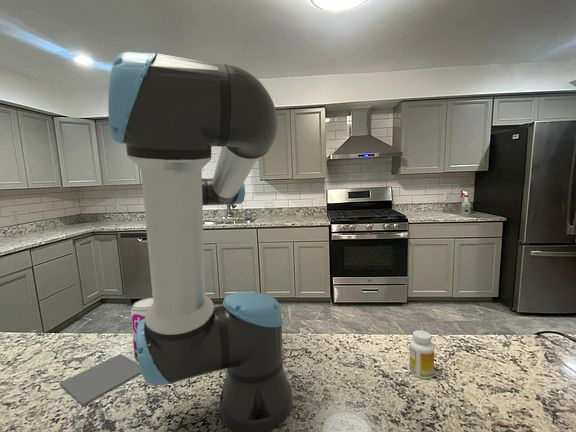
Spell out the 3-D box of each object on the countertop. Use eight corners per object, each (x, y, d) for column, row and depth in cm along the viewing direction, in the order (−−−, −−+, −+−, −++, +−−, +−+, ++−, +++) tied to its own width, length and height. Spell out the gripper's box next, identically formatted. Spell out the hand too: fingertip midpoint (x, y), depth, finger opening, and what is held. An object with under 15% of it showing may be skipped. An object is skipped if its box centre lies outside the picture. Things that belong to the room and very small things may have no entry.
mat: (146, 370, 71) (146, 368, 71) (82, 406, 59) (82, 404, 59) (121, 355, 78) (120, 353, 78) (59, 384, 66) (59, 382, 66)
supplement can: (154, 363, 74) (150, 309, 72) (127, 360, 75) (123, 307, 74) (172, 347, 82) (169, 297, 80) (148, 344, 83) (144, 296, 82)
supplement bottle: (436, 371, 67) (437, 333, 67) (430, 383, 63) (430, 342, 63) (413, 362, 71) (414, 326, 70) (406, 373, 67) (406, 334, 66)
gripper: (188, 221, 92) (191, 290, 94) (150, 226, 81) (155, 303, 83) (203, 222, 88) (206, 294, 90) (165, 227, 77) (170, 309, 79)
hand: (182, 298), depth 87 cm, fingers closed
